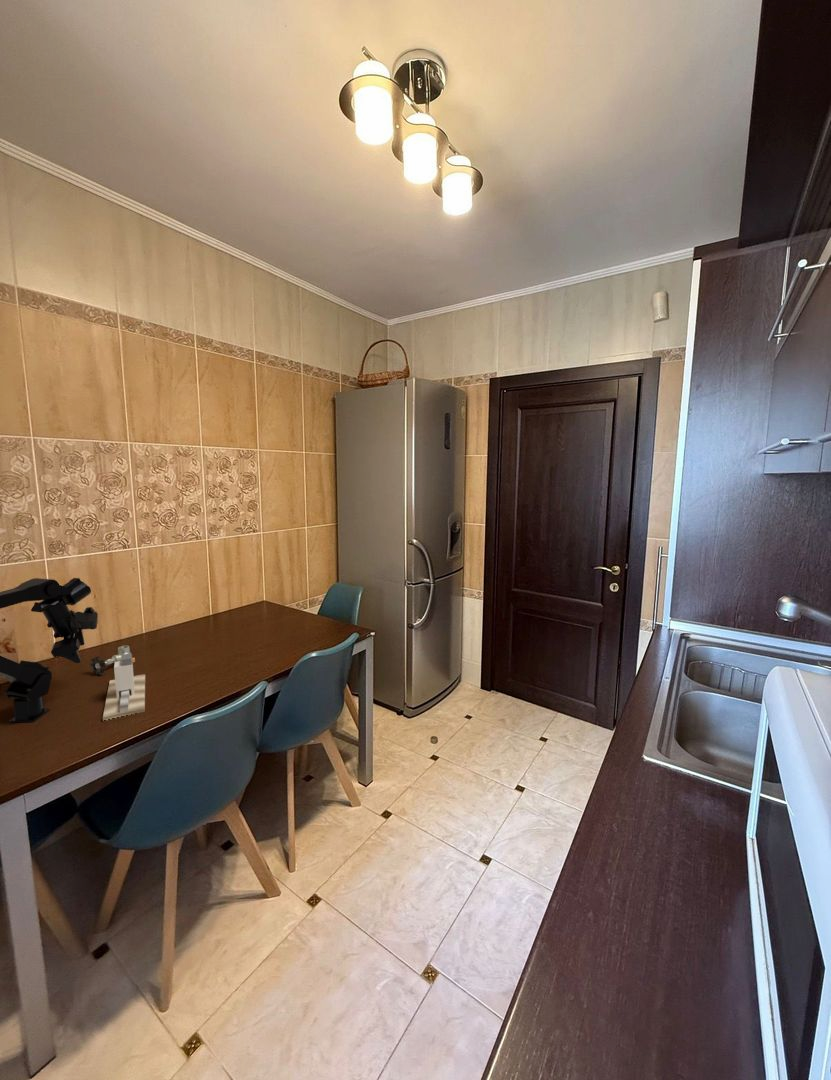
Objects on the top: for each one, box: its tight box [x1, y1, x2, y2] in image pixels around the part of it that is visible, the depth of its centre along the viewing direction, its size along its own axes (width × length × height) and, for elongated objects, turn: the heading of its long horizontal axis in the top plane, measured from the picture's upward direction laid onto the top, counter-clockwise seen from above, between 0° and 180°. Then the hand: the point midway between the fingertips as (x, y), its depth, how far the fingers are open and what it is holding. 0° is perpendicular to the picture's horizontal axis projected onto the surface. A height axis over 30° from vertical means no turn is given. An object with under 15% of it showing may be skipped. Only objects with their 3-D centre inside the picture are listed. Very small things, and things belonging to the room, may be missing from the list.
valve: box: [89, 645, 131, 676], centre depth 156 cm, size 7×7×12 cm
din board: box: [102, 673, 146, 722], centre depth 137 cm, size 26×10×3 cm, turn 31°
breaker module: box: [113, 653, 136, 698], centre depth 136 cm, size 4×5×12 cm
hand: (80, 653), depth 139 cm, fingers open, 9 cm apart
